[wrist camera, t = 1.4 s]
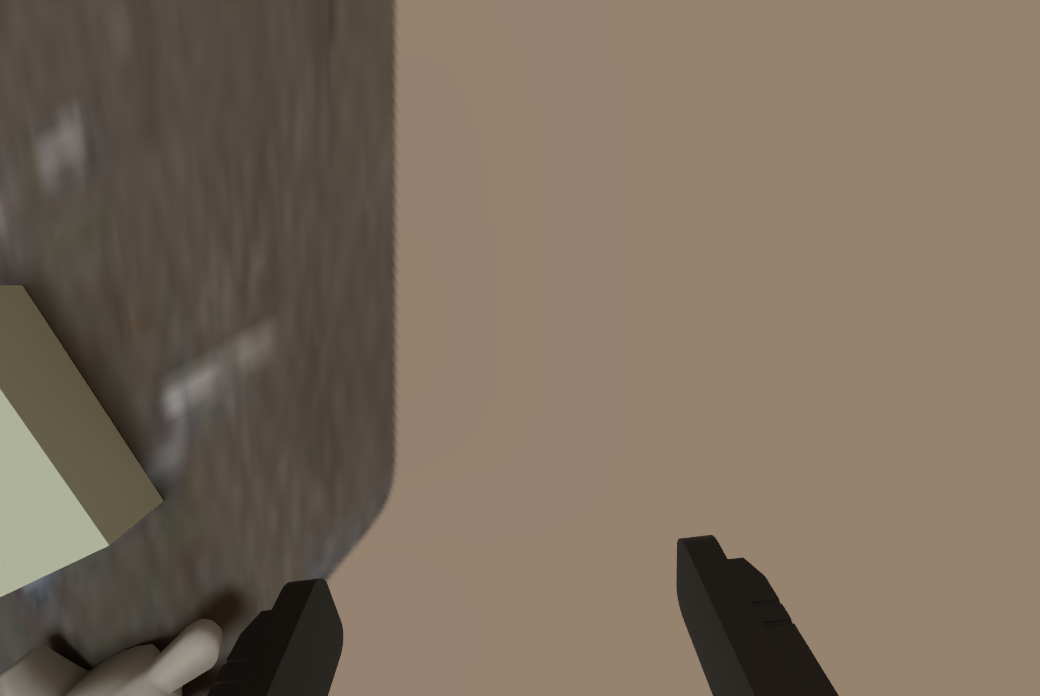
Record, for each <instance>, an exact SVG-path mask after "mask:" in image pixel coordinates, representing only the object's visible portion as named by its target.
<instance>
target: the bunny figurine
mask: <svg viewBox="0 0 1040 696" xmlns="http://www.w3.org/2000/svg"><path fill="white" fill-rule="evenodd" d="M222 636H223V635H222V630H221V628H220V627H219V626H218V625H217V624H216V623H215V622H214V621H213V620H207V619H200V620H197V621H195V622H193V623H191V624H189V625H188V626H187V627H186V628H185V629H184V630H183V631H182V632H181V633H180V634H179V635H178V636H177V637H176V638H175V639H174V640H173V641H172V642H171V643H170V644H169V645H168V646H167V647H166V648H165V649H164V650H163V651H162V652H160V651H159V650H158V649H157V648H156V647H155V646H154V645H153V644H148V645H141V646H136V647H133V648H130V649H127V650H124V651H122V652H120V653H118V654H116V655H113V656H111V657H109V658H108V659H106V660H105V661H103V662H102V663H100V664H99V665H97V666H96V667H95V668H93V669H92V670H90V671H88V670H86V669H84V668H82V667H80V666H78V665H76V664H74V663H73V662H71V661H69V660H68V659H66V658H65V657H63V656H61V655H60V654H58V653H56V652H55V651H53V650H51V649H50V648H48V647H46V646H45V645H43V646H41V647H38V648H36V649H34V650H31V651H29V652H28V653H27V654H25V655H24V656H23V657H22V658H21V659H19V660H18V661H17V662H16V663H15V664H13V665H12V666H11V667H10V668H9V669H7V670H6V671H5V672H4V673H3V674H1V675H0V696H182V686H183V685H184V684H186V683H188V682H189V681H191V680H193V679H194V678H196V677H198V676H199V675H201V674H203V673H204V672H206V671H208V670H209V669H211V668H212V667H213V666H214V664H215V663H216V661H217V659H218V655H219V651H220V648H221V644H222Z"/></svg>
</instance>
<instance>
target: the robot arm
mask: <svg viewBox="0 0 1040 696" xmlns="http://www.w3.org/2000/svg"><path fill="white" fill-rule="evenodd" d="M677 596H678V601H679V606H680V610H681V613H682V616H683V619H684V622H685V624H686V627H687V629H688V632H689V634H690V637H691V639H692V642H693V645H694V648H695V650H696V653H697V655H698V658H699V661H700V663H701V666H702V668H703V671H704V674H705V676H706V679H707V681H708V684H709V686H710V689H711V692H712V694H713V696H838V694H837V692H836V691H835V689H834V687H833V686H832V684H831V683H830V681H829V679H828V678H827V676H826V674H825V673H824V671H823V670H822V668H821V666H820V665H819V663H818V662H817V660H816V658H815V657H814V655H813V653H812V652H811V650H810V649H809V647H808V645H807V644H806V642H805V640H804V639H803V637H802V636H801V634H800V633H799V631H798V629H797V627H796V626H795V624H793V623H792V621H791V618H790V616H789V614H788V613H787V611H786V610H785V608H784V607H783V605H782V604H780V602H779V598H778V597H777V595H776V594H775V592H774V590H773V589H772V587H771V585H770V584H769V582H768V580H767V579H766V577H765V576H764V575H763V574H762V573H760V572H759V571H758V570H757V569H756V568H755V567H753V566H752V565H751V564H750V563H749V562H748V561H747V560H745V559H744V558H736V559H727V557H726V556H725V554H724V552H723V550H722V548H721V547H720V545H719V543H718V541H717V540H716V538H715V537H714V536H712V535H707V536H699V537H690V538H681V539H678V542H677ZM342 646H343V628H342V623H341V620H340V617H339V615H338V612H337V609H336V607H335V604H334V601H333V598H332V596H331V593H330V590H329V587H328V585H327V582H326V581H325V580H324V579H322V578H321V579H312V580H303V581H295V582H288V583H287V584H286V585H285V586H284V587H283V589H282V590H281V592H280V594H279V596H278V598H277V600H276V602H275V604H274V606H273V608H272V610H267V611H261V612H260V614H259V615H258V616H257V617H256V618H255V619H254V620H253V621H252V622H251V623H250V624H249V625H248V627H247V628H246V629H245V630H244V631H243V632H242V633H241V634H240V636H239V638H238V640H237V642H236V643H235V645H234V647H233V649H232V651H231V653H230V655H229V656H228V658H227V663H226V665H224V666H223V668H222V669H221V671H220V673H219V675H218V677H217V679H216V680H215V686H214V687H212V688H211V690H210V692H209V693H208V695H207V696H328V693H329V690H330V687H331V684H332V681H333V678H334V675H335V671H336V668H337V665H338V662H339V659H340V656H341V652H342Z"/></svg>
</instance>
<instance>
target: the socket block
mask: <svg viewBox="0 0 1040 696" xmlns="http://www.w3.org/2000/svg"><path fill="white" fill-rule="evenodd" d="M162 502H163V499H162V497H161V496H160V494H159V493H158V491H157V490H156V488H155V487H154V485H153V484H152V482H151V481H150V479H149V478H148V476H147V475H146V473H145V472H144V470H143V468H142V467H141V465H140V464H139V462H138V461H137V459H136V458H135V456H134V455H133V453H132V452H131V450H130V449H129V447H128V446H127V444H126V443H125V441H124V439H123V438H122V436H121V435H120V433H119V432H118V430H117V429H116V427H115V426H114V424H113V423H112V421H111V420H110V418H109V417H108V415H107V414H106V412H105V410H104V409H103V407H102V406H101V404H100V403H99V401H98V400H97V398H96V397H95V395H94V394H93V392H92V391H91V389H90V388H89V386H88V385H87V383H86V381H85V380H84V378H83V377H82V375H81V374H80V372H79V371H78V369H77V368H76V366H75V365H74V363H73V362H72V360H71V359H70V357H69V356H68V354H67V352H66V351H65V349H64V348H63V346H62V345H61V343H60V342H59V340H58V339H57V337H56V336H55V334H54V333H53V331H52V330H51V328H50V327H49V325H48V323H47V322H46V320H45V319H44V317H43V316H42V314H41V313H40V311H39V310H38V308H37V307H36V305H35V304H34V302H33V301H32V299H31V298H30V296H29V294H28V293H27V291H26V290H25V288H24V287H23V285H0V597H2V596H4V595H6V594H8V593H10V592H12V591H14V590H16V589H18V588H21V587H23V586H25V585H27V584H29V583H31V582H33V581H35V580H37V579H40V578H42V577H44V576H46V575H48V574H50V573H52V572H54V571H56V570H58V569H61V568H63V567H65V566H67V565H69V564H71V563H73V562H75V561H77V560H80V559H82V558H84V557H86V556H88V555H90V554H92V553H94V552H96V551H99V550H101V549H103V548H105V547H107V546H109V545H110V544H112V543H113V542H114V541H115V540H117V539H118V538H119V537H120V536H121V535H123V534H124V533H125V532H126V531H128V530H129V529H130V528H131V527H132V526H134V525H135V524H136V523H137V522H138V521H140V520H141V519H142V518H143V517H145V516H146V515H147V514H148V513H149V512H151V511H152V510H153V509H154V508H156V507H157V506H158V505H159V504H160V503H162Z"/></svg>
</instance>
